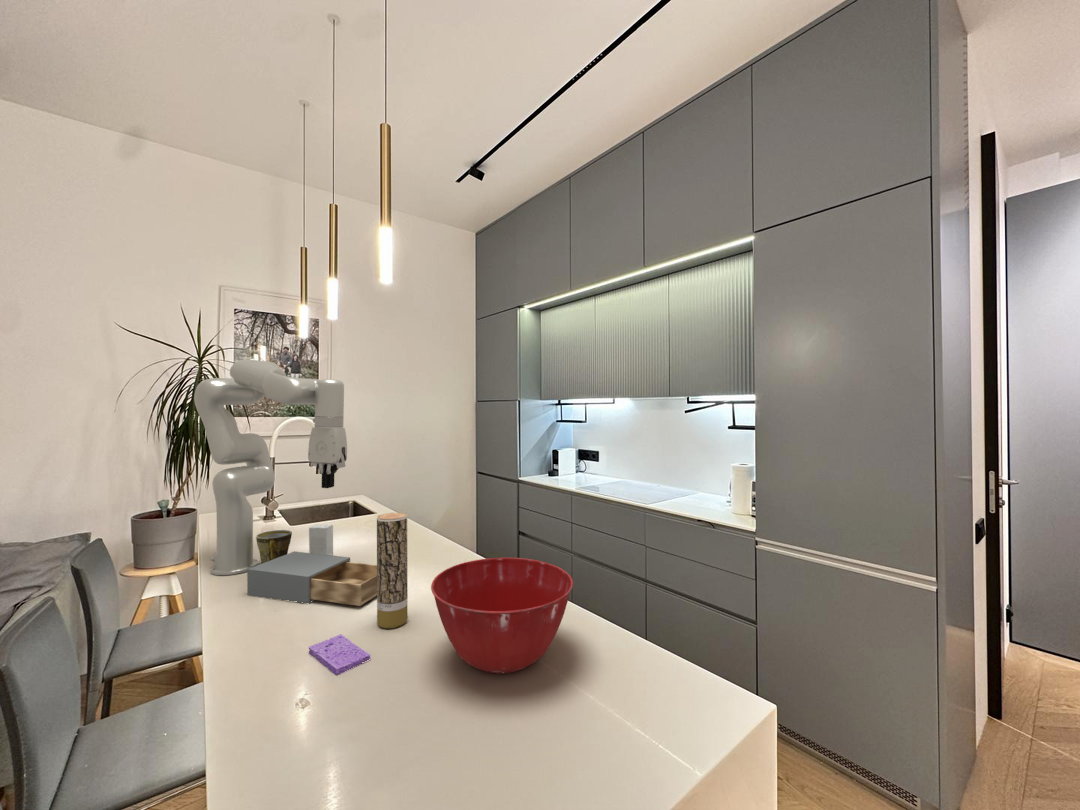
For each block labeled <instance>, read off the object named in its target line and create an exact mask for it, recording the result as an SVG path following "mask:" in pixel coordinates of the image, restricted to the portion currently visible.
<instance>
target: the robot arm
mask: <svg viewBox="0 0 1080 810" xmlns="http://www.w3.org/2000/svg"><path fill="white" fill-rule="evenodd" d="M229 375H230V378H229V377H212V378H207V379H204V380H202V381H201V382H199V383H198V384H197V386H196V388H195V390H194V396H193V397H194V400H193V401H194V405H195V407H196V408H195V409H196V410H197V413H198V416H199V417H200V419H201V421H202V424H203V426H204V431H205V435H206V439H207V443H208V447H209V451H210V455H211V458H212V461H214V463H216V464H217V465H222V466H223V465H224V466H225V465H236V464H246V465H242V466H235V467H229V468H225V469H222V470H219V472H217V473H216V474H215V475H214V477H213V479H212V483H211V484H212V490H213V494H214V498H215V499H214V500H215V508H216V553H214V554H213V555H211V556H210V558H209V561H212V562H214V565H212V567H211V568H210V574H212V575H215V576H230V575H238V574H241V573H247V569H249V568H252V567H255V566H257V565H260V563H259V562H260V561H259V560H258V559H255V558H254V512H253V507H252V505H251V503H250V502H249V501H248V499H247V497H249V496H253V495H259V494H264V493H266V492H269V491H270V490H271V489H272V488H273V487H274V484H275V479H276V478H275V472H274V468H273V463H272V460H271V456H270V452H269V448H268V445H267V442H266V441H265V439H264V438H263V437H262V436H261V435H259V434H258V433H254V432H253V433H251V432H249V433H247V432H246V433H242V432H240V431H239V427H238V424H237V420H236V418H235V417H234V415H233V414H232V413H231V411H229V410H228V409H227V408H225V406H251V405H254V404H256V403H258V402H259V401H260V400H262V399H263V398H265V397H266V398H267V399H269V400H272V401H275V402H278V403H282V404H284V405H294V406H295V405H305V406H306V405H308V406H310V405H311V406H312V405H313V406H314V418H313V419H312V422H313V424H314V427H312V428H311V431H310V435H309V441H308V450H307V459H308V462H309V463H311V465H312V466H313V467H315V468H318V470H319V474H321V488H322V489H329V488H334V487H335V474H336V473H337V471H338V470H339V469H342V468H345V467H346V461H347V459H348V440H347V433H346V428H345V427H344V414H345V412H344V411H345V409H344V407H345V404H344V403H345V384H344V382H343V381H342V380H338V379H318V378H317V379H316V378H306V377H305V378H304V377H302V378H301V377H289V376H287V373H286V372H285V371H284V370H283V369H282V368H281V366H279V365H278V364H276V362H272V361H268V360H267V361H266V360H258V359H257V360H255V359H241V360H238V361H236V362H234V363H233V364H232V365H231V367H230V369H229Z"/></svg>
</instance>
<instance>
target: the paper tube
mask: <svg viewBox="0 0 1080 810" xmlns="http://www.w3.org/2000/svg"><path fill="white" fill-rule="evenodd" d="M376 565H377V596H376V614H377V615H376V621H377V622H376V623H377V625H378V626H379V627H380V628H382V629H395V628H399V627H401V626H403V625H404V624H405V623H406V622H407V621H408V602H409V601H408V599H409V598H408V589H409V588H408V586H409V585H408V584H409V583H408V514H407V513H405V512H386V513H383V514H378V515H377V517H376Z"/></svg>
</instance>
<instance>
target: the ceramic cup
mask: <svg viewBox="0 0 1080 810" xmlns="http://www.w3.org/2000/svg"><path fill="white" fill-rule="evenodd" d="M292 535H293V532H292V531H291V530H289V529H275V530H269V531H265V532H261V533H258V534H257V535H256V536H255V539H256V544H257V545H256V546H257V549H258V553H259V558H260V561H261V563H260V564H263V563H265V562H268V561H270V560H273V559H276V558H278V557H281V556H284V555H286V554H289V553H288V552H289V547H290V544H291V540H292Z"/></svg>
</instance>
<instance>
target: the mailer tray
mask: <svg viewBox="0 0 1080 810" xmlns="http://www.w3.org/2000/svg"><path fill="white" fill-rule="evenodd" d="M375 597H377V564H370V563H361V562H352V561H350V562H344V563H342V564H339V565H337V566H335V567H333V568H331V569H329V570H326V571H324V572H322V573H320V574H318V575H316V576H314V577H311V578H310V599H314V600H315V601H321V602H329V603H336V604H341V605H342V604H343V605H349V606H356V607H361V606H362V605H364V604H365V603H367V602H368V601H370V600H372V599H373V598H375Z"/></svg>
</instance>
